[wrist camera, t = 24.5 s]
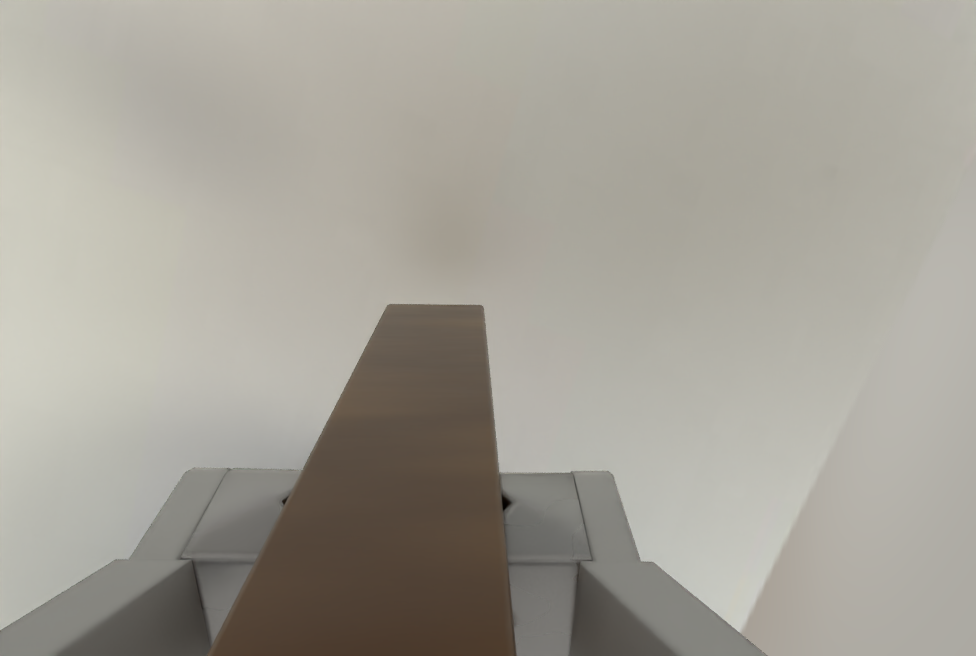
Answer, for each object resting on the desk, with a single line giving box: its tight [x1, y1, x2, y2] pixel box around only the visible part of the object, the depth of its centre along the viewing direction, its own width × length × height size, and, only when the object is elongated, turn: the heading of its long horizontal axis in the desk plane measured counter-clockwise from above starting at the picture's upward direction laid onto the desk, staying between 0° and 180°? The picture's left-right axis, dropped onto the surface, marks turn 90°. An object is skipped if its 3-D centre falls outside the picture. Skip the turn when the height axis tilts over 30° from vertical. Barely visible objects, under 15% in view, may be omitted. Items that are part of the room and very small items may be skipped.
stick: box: [207, 304, 517, 656], centre depth 10 cm, size 2×2×14 cm
